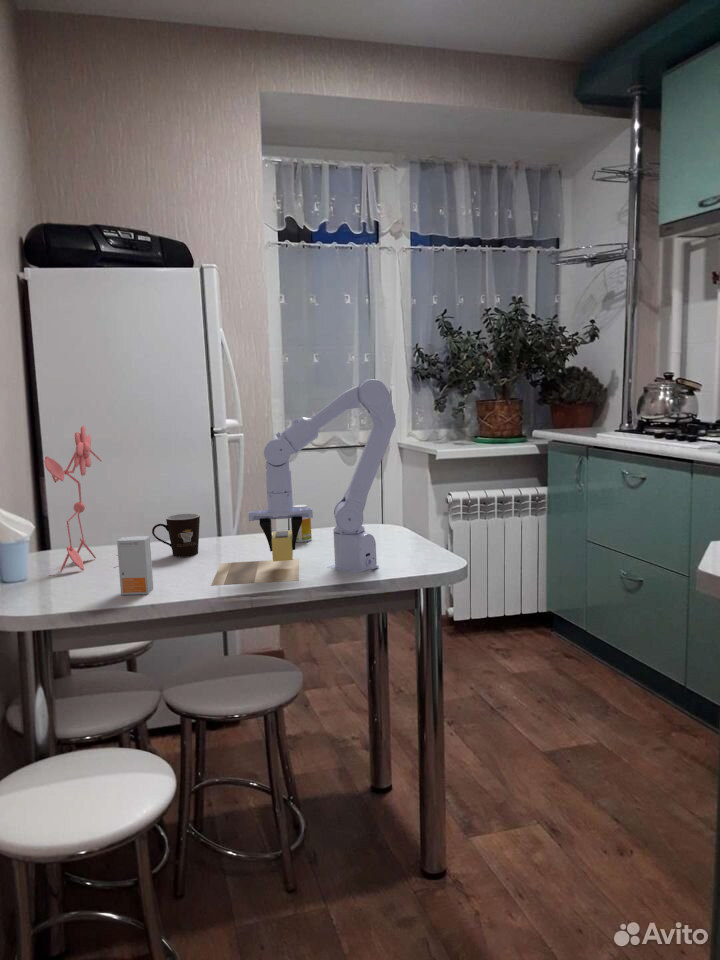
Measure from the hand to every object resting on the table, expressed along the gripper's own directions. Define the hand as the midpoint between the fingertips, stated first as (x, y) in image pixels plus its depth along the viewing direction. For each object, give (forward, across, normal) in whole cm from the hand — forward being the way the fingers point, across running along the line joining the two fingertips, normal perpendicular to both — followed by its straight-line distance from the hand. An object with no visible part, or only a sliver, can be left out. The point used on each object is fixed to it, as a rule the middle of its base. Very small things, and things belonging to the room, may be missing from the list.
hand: (282, 549), depth 174 cm
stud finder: (+2, 0, 0) cm, 2 cm away
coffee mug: (+5, +28, -25) cm, 38 cm away
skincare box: (+5, +31, +10) cm, 33 cm away
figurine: (+5, +48, -18) cm, 51 cm away
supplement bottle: (+6, -4, -34) cm, 35 cm away
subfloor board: (+5, +6, 0) cm, 8 cm away
